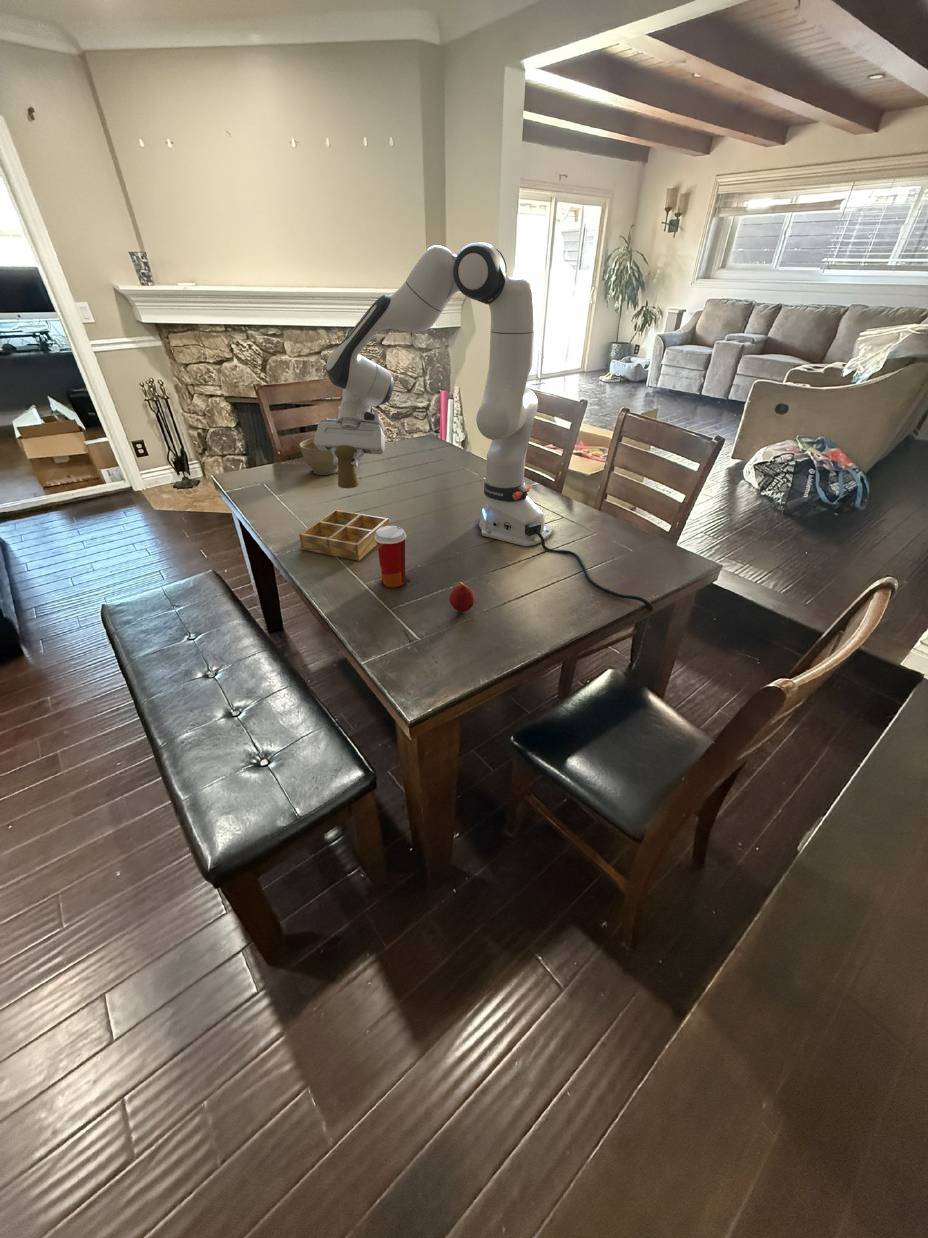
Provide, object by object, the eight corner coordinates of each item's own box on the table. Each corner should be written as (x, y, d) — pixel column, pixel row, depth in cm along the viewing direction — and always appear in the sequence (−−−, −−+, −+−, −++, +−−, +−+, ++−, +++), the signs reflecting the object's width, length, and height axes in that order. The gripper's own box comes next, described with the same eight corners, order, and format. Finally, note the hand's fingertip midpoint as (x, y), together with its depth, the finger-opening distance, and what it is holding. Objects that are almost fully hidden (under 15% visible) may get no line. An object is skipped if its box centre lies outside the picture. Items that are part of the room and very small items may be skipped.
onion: (473, 605, 122) (474, 576, 117) (475, 618, 117) (475, 589, 113) (449, 605, 122) (449, 576, 117) (449, 619, 117) (449, 589, 112)
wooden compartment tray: (389, 533, 153) (388, 518, 151) (359, 560, 139) (357, 544, 137) (336, 523, 159) (334, 509, 156) (301, 549, 144) (298, 534, 142)
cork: (356, 488, 146) (352, 449, 140) (336, 488, 146) (330, 449, 140) (360, 481, 151) (356, 443, 145) (340, 480, 151) (335, 442, 145)
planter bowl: (355, 469, 199) (352, 440, 193) (326, 481, 188) (321, 451, 182) (325, 461, 206) (321, 434, 200) (295, 473, 195) (290, 444, 189)
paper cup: (394, 571, 135) (390, 521, 127) (415, 580, 131) (412, 530, 123) (372, 582, 130) (366, 532, 122) (393, 593, 126) (389, 541, 118)
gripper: (315, 412, 146) (306, 457, 143) (384, 416, 143) (376, 462, 140) (323, 424, 152) (315, 467, 149) (390, 428, 149) (382, 472, 147)
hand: (345, 464), depth 145 cm, fingers closed on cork, 4 cm apart
